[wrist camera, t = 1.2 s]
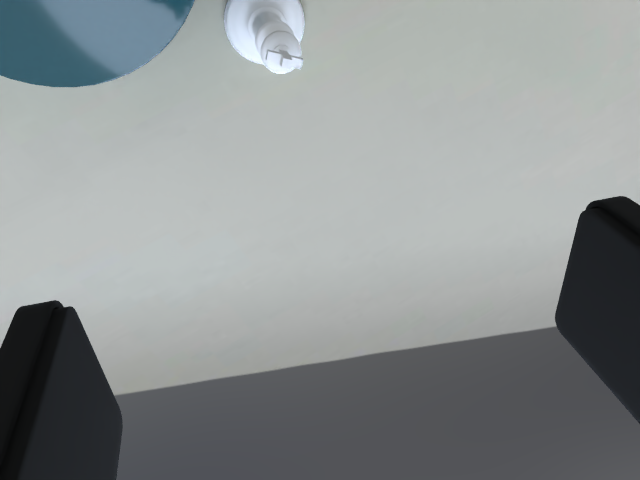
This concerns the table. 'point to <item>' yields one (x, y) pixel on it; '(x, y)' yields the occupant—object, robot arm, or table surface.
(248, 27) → the chess piece
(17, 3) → the bowl lid
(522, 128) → the table surface
